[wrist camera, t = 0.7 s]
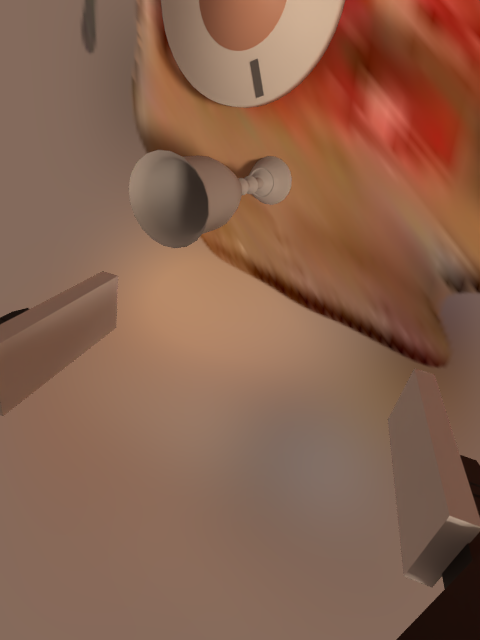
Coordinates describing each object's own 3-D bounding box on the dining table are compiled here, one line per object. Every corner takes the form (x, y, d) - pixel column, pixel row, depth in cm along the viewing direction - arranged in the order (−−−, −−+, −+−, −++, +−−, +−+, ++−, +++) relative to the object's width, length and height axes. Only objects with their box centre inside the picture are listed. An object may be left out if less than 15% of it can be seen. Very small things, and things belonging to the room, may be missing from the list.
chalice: (236, 202, 44) (127, 231, 30) (247, 140, 41) (129, 139, 27) (292, 220, 42) (202, 261, 28) (308, 155, 38) (215, 164, 24)
